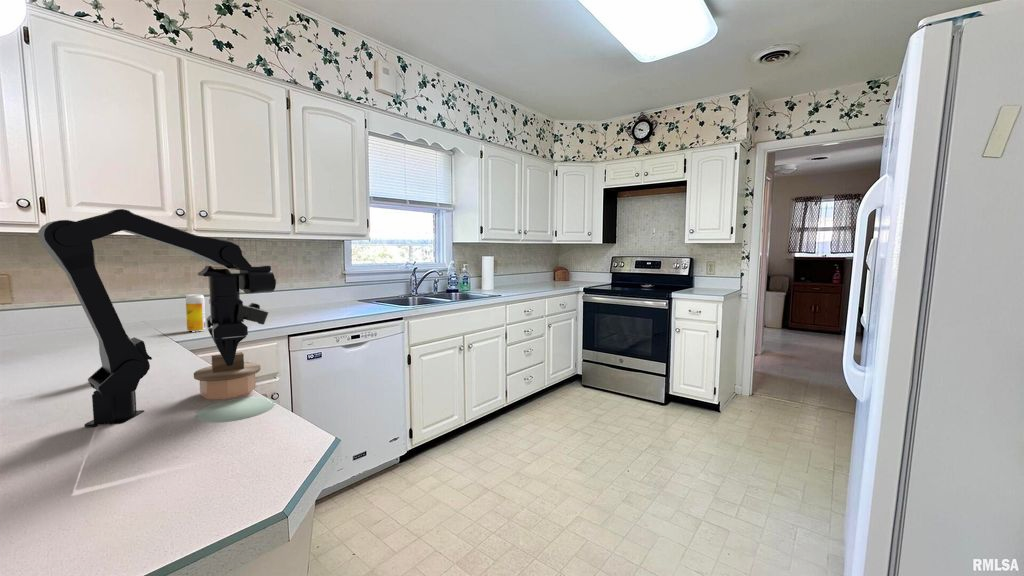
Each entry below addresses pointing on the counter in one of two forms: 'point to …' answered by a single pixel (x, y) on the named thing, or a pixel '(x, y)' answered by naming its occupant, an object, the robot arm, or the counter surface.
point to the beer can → (195, 312)
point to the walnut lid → (227, 369)
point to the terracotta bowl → (227, 388)
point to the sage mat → (235, 409)
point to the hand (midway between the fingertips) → (227, 361)
